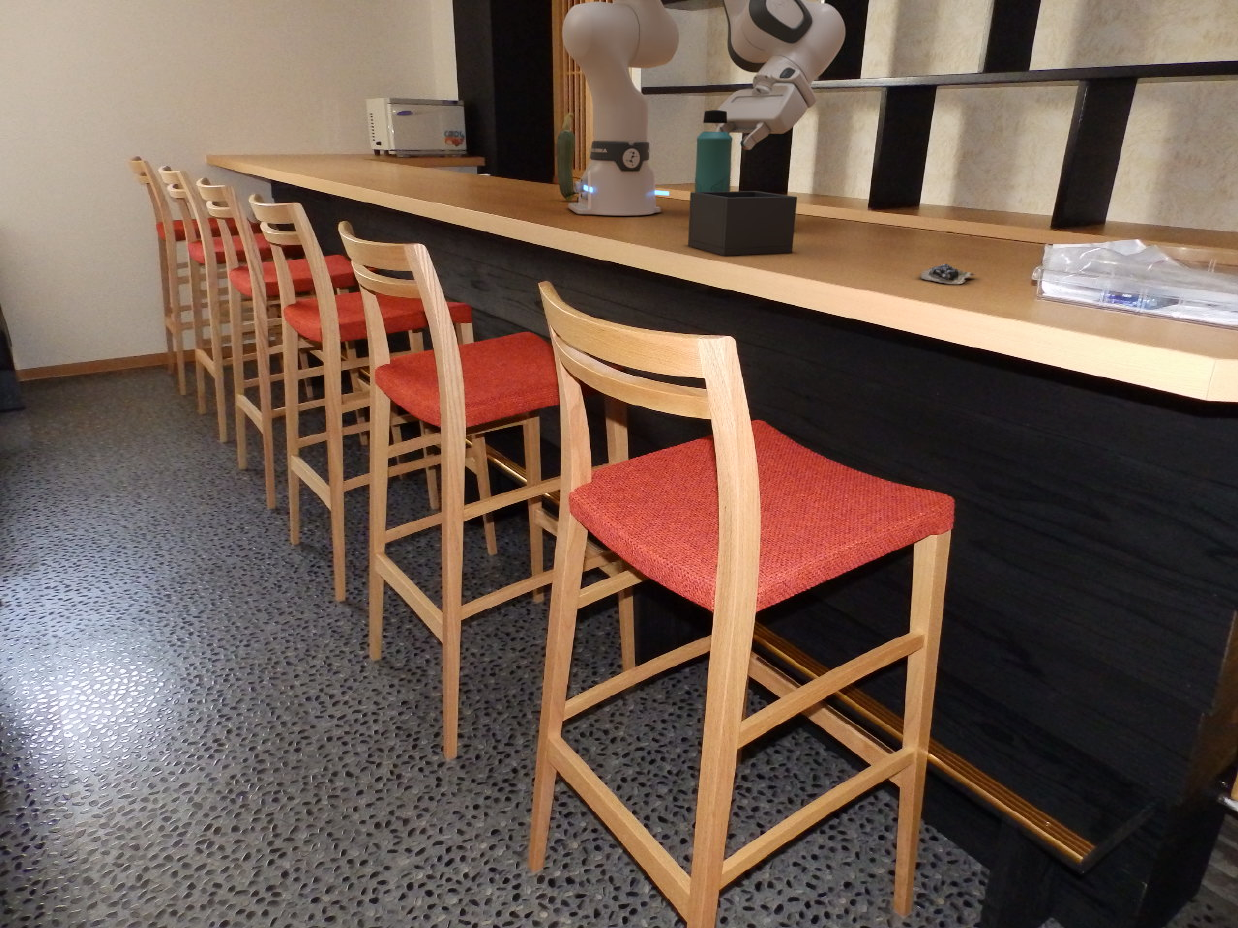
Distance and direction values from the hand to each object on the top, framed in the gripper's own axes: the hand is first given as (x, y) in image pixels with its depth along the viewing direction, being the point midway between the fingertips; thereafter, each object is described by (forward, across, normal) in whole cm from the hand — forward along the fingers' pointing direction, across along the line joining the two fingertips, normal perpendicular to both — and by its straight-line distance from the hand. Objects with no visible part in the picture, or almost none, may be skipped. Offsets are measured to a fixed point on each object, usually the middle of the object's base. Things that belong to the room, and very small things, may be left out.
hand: (728, 146), depth 149 cm
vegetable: (+12, -62, +8) cm, 64 cm away
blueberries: (+14, +57, +7) cm, 59 cm away
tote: (+20, +24, 0) cm, 31 cm away
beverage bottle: (+12, 0, +8) cm, 15 cm away
